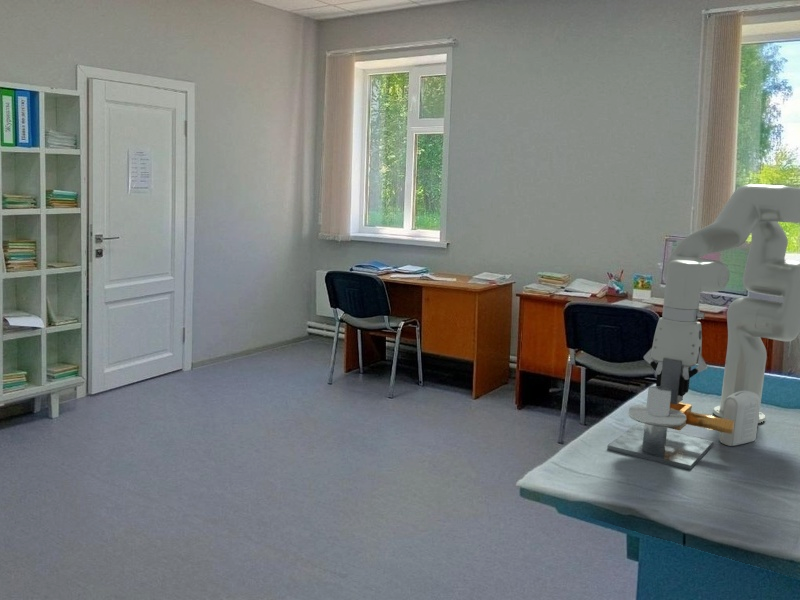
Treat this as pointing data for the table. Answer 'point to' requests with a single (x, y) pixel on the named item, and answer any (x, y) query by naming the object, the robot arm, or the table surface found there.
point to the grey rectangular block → (672, 378)
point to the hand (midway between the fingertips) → (671, 392)
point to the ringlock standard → (663, 443)
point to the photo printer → (741, 417)
